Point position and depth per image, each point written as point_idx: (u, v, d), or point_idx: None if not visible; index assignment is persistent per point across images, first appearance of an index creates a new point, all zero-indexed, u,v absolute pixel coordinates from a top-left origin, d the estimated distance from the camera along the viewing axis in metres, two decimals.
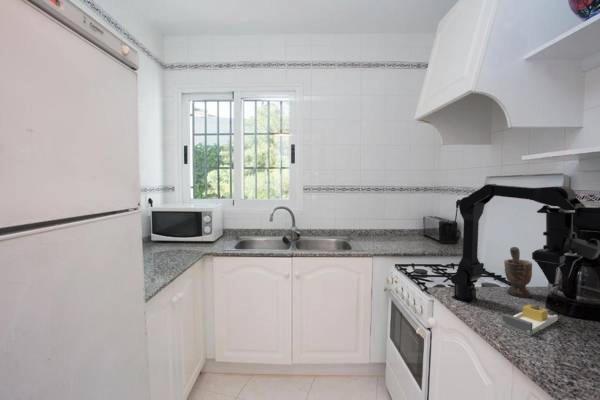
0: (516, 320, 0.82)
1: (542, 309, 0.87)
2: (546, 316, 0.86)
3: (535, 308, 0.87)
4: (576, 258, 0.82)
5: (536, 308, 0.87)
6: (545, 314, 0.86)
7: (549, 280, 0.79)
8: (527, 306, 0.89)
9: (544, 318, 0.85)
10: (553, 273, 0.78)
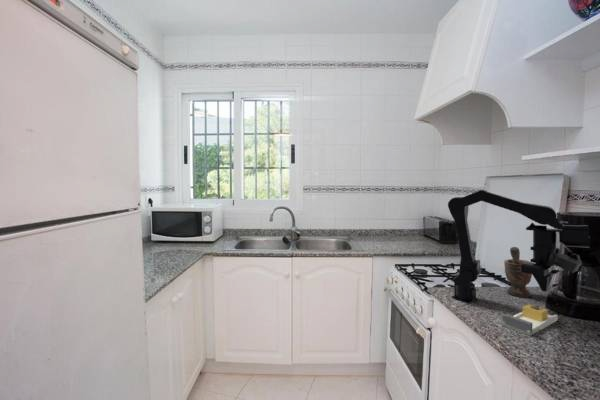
0: (516, 320, 0.82)
1: (542, 309, 0.87)
2: (546, 316, 0.86)
3: (535, 308, 0.87)
4: (554, 273, 0.89)
5: (536, 308, 0.87)
6: (545, 314, 0.86)
7: (541, 287, 0.91)
8: (527, 306, 0.89)
9: (544, 318, 0.85)
10: (545, 281, 0.90)
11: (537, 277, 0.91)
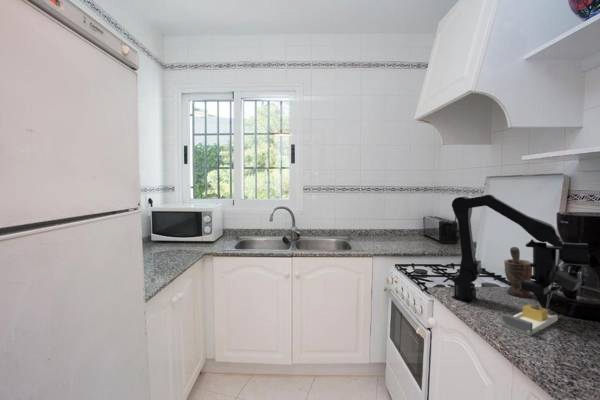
0: (516, 320, 0.82)
1: (542, 309, 0.87)
2: (546, 316, 0.86)
3: (535, 308, 0.87)
4: (554, 290, 0.89)
5: (536, 308, 0.87)
6: (545, 314, 0.86)
7: (541, 304, 0.91)
8: (527, 306, 0.89)
9: (544, 318, 0.85)
10: (545, 299, 0.90)
11: (537, 294, 0.91)
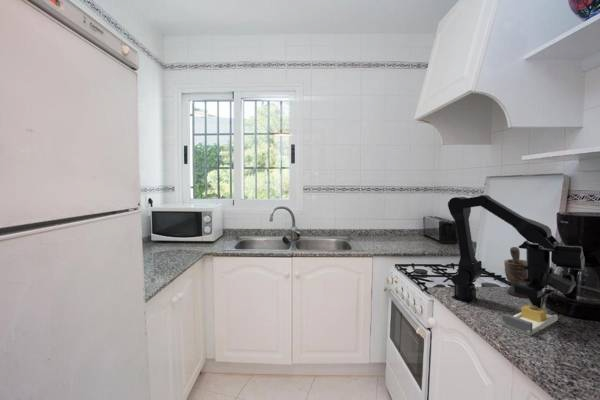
0: (516, 320, 0.82)
1: (541, 310, 0.86)
2: (545, 317, 0.86)
3: (534, 309, 0.87)
4: None
5: (535, 309, 0.86)
6: (544, 314, 0.85)
7: None
8: (526, 307, 0.89)
9: (543, 319, 0.85)
10: (538, 302, 0.88)
11: (531, 297, 0.89)
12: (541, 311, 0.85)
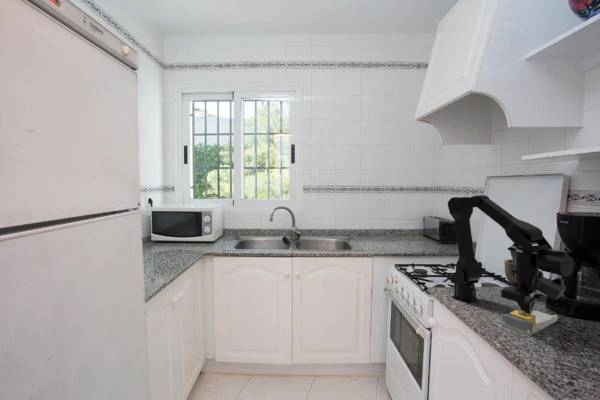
0: (516, 320, 0.82)
1: (530, 315, 0.83)
2: (534, 323, 0.82)
3: (522, 314, 0.83)
4: (537, 297, 0.84)
5: (523, 314, 0.83)
6: (533, 320, 0.82)
7: None
8: (514, 312, 0.85)
9: (532, 325, 0.82)
10: (527, 307, 0.84)
11: (519, 302, 0.86)
12: (530, 317, 0.82)
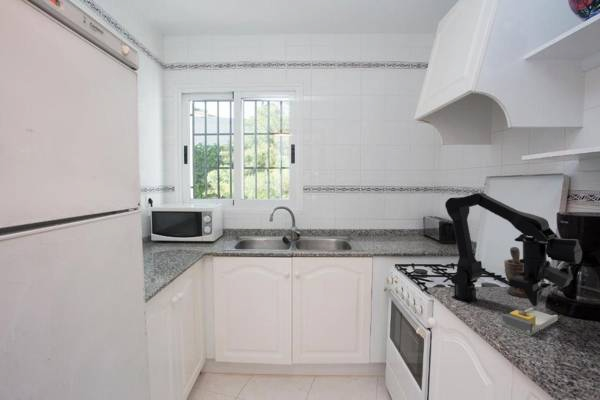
0: (516, 320, 0.82)
1: (530, 315, 0.83)
2: (534, 323, 0.82)
3: (522, 314, 0.83)
4: (544, 287, 0.85)
5: (523, 314, 0.83)
6: (533, 320, 0.82)
7: (531, 302, 0.87)
8: (514, 312, 0.85)
9: (532, 325, 0.82)
10: (535, 296, 0.86)
11: (527, 291, 0.87)
12: (530, 317, 0.82)
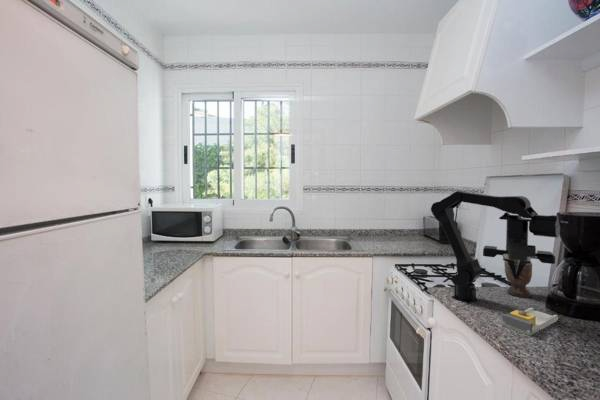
0: (516, 320, 0.82)
1: (530, 315, 0.83)
2: (534, 323, 0.82)
3: (522, 314, 0.83)
4: (519, 262, 0.91)
5: (523, 314, 0.83)
6: (533, 320, 0.82)
7: (513, 275, 0.94)
8: (514, 312, 0.85)
9: (532, 325, 0.82)
10: (511, 268, 0.93)
11: None
12: (530, 317, 0.82)
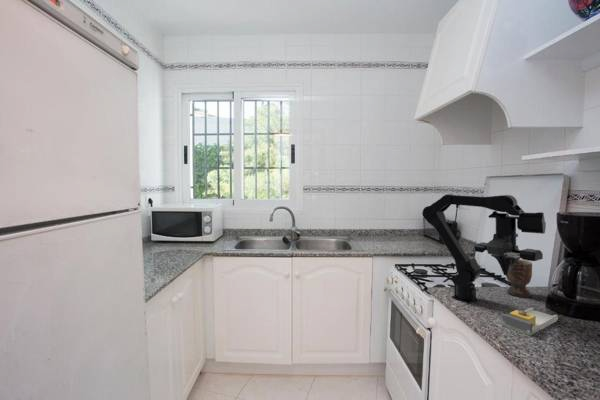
0: (516, 320, 0.82)
1: (530, 315, 0.83)
2: (534, 323, 0.82)
3: (522, 314, 0.83)
4: None
5: (523, 314, 0.83)
6: (533, 320, 0.82)
7: None
8: (514, 312, 0.85)
9: (532, 325, 0.82)
10: None
11: None
12: (530, 317, 0.82)
